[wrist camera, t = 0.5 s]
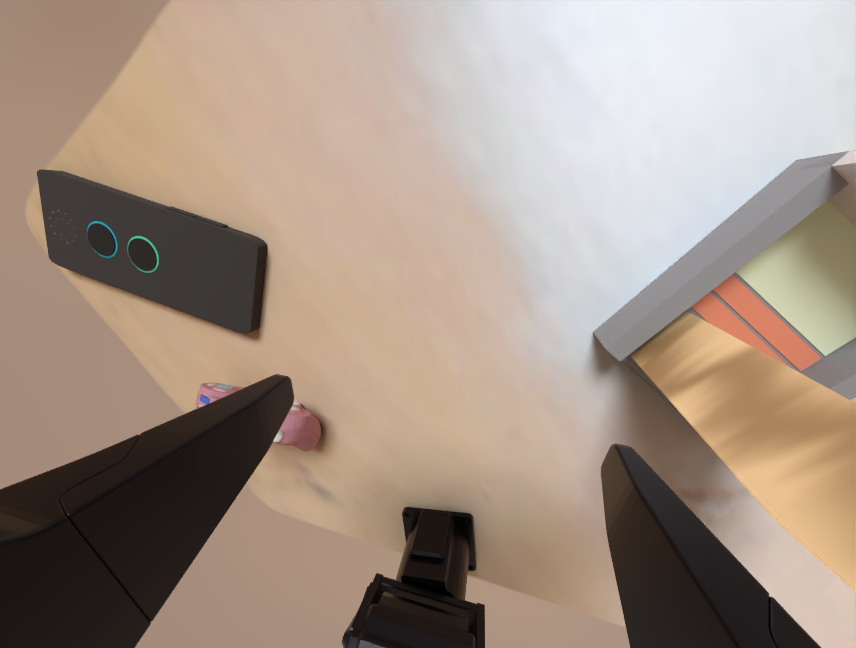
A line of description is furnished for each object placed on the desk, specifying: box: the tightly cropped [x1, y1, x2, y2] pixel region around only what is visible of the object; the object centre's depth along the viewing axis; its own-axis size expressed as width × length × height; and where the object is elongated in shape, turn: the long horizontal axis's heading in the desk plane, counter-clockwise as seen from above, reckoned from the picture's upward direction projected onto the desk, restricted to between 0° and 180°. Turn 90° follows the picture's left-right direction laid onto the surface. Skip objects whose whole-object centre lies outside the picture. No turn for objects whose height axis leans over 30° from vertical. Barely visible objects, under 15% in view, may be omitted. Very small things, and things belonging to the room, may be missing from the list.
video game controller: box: [196, 383, 321, 451], centre depth 28 cm, size 10×5×7 cm, turn 78°
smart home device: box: [37, 170, 267, 333], centre depth 28 cm, size 8×2×20 cm
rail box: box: [593, 150, 856, 409], centre depth 18 cm, size 14×11×6 cm
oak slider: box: [629, 311, 856, 592], centre depth 15 cm, size 4×7×12 cm, turn 50°
